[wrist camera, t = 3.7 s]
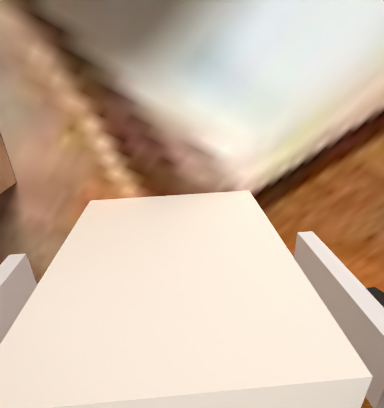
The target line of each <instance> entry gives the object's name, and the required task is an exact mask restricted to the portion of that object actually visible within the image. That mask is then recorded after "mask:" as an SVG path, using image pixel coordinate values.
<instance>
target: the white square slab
mask: <svg viewBox="0 0 384 408" xmlns="http://www.w3.org/2000/svg"><path fill="white" fill-rule="evenodd" d="M372 377H373V376H372V375H371V373H370V372H369V370H368V369H367V367H366V366H365V364H364V363H363V361H362V360H361V358H360V357H359V355H358V354H357V352H356V351H355V349H354V348H353V346H352V345H351V343H350V342H349V340H348V339H347V337H346V336H345V334H344V333H343V331H342V330H341V328H340V327H339V325H338V324H337V322H336V321H335V319H334V318H333V316H332V315H331V313H330V312H329V310H328V309H327V307H326V306H325V304H324V303H323V301H322V300H321V298H320V297H319V295H318V294H317V292H316V291H315V289H314V288H313V286H312V285H311V283H310V282H309V280H308V279H307V277H306V275H305V274H304V272H303V271H302V269H301V268H300V266H299V265H298V263H297V262H296V260H295V259H294V257H293V256H292V254H291V253H290V251H289V250H288V248H287V247H286V245H285V244H284V242H283V241H282V239H281V238H280V236H279V235H278V233H277V232H276V230H275V229H274V227H273V226H272V224H271V223H270V221H269V220H268V218H267V217H266V215H265V214H264V212H263V211H262V209H261V208H260V206H259V205H258V203H257V202H256V200H255V199H254V197H253V196H252V194H251V193H250V191H235V192H219V193H204V194H188V195H172V196H156V197H140V198H124V199H108V200H92V201H90V202H89V204H88V205H87V207H86V208H85V210H84V212H83V213H82V215H81V216H80V218H79V220H78V221H77V223H76V224H75V226H74V228H73V229H72V231H71V232H70V234H69V236H68V237H67V239H66V240H65V242H64V244H63V245H62V247H61V248H60V250H59V251H58V253H57V255H56V256H55V258H54V259H53V261H52V263H51V264H50V266H49V267H48V269H47V271H46V272H45V274H44V275H43V277H42V279H41V280H40V282H39V283H38V285H37V287H36V288H35V290H34V291H33V293H32V295H31V296H30V298H29V299H28V301H27V302H26V304H25V306H24V307H23V309H22V310H21V312H20V314H19V315H18V317H17V318H16V320H15V322H14V323H13V325H12V326H11V328H10V330H9V331H8V333H7V334H6V336H5V338H4V339H3V341H2V342H1V344H0V408H361V406H362V403H363V401H364V398H365V395H366V393H367V390H368V388H369V385H370V382H371V380H372Z"/></svg>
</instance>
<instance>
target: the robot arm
mask: <svg viewBox="0 0 384 408" xmlns="http://www.w3.org/2000/svg"><path fill="white" fill-rule="evenodd" d="M294 259H295V260H296V262H297V263H298V265H299V266H300V268H301V269H302V271H303V272H304V274H305V275H306V277H307V279H308V280H309V282H310V283H311V285H312V286H313V288H314V289H315V291H316V292H317V294H318V295H319V297H320V298H321V300H322V301H323V303H324V304H325V306H326V307H327V309H328V310H329V312H330V313H331V315H332V316H333V318H334V319H335V321H336V322H337V324H338V325H339V327H340V328H341V330H342V331H343V333H344V334H345V336H346V337H347V339H348V340H349V342H350V343H351V345H352V346H353V348H354V349H355V351H356V352H357V354H358V355H359V357H360V358H361V360H362V361H363V363H364V364H365V366H366V367H367V369H368V370H369V372H370V373H371V375H372V376H373V377H372V380H371V382H370V385H369V388H368V390H367V393H366V395H365V396H366V398H367V399H368V401H369V403H370V404H371V406H372V408H384V293H383V292H382V291H380V290H379V289H377V288H375V287H372V288H365V287H364V286H363V285H362V284H361V283H360V282H359V281H358V279H357V278H356V277H355V276H354V275H353V274H352V273H351V272H350V271H349V270H348V269H347V268H346V267H345V266H344V265H343V263H342V262H341V261H340V260H339V259H338V258H337V257H336V256H335V255H334V254H333V253H332V252H331V251H330V250H329V248H328V247H327V246H326V245H325V244H324V243H323V242H322V241H321V240H320V239H319V238H318V237H317V236H316V235H315V234H314V232H313V231H310V232H297V239H296V246H295V253H294ZM36 287H37V283H36V280H35V277H34V275H33V272H32V269H31V266H30V263H29V260H28V258H27V255H26V254H13V255H9V256H8V257H7V258H6V259H5V260H4V261H3V262H2V264H1V265H0V344H1V342H2V341H3V339H4V338H5V336H6V334H7V333H8V331H9V330H10V328H11V326H12V325H13V323H14V322H15V320H16V318H17V317H18V315H19V314H20V312H21V310H22V309H23V307H24V306H25V304H26V302H27V301H28V299H29V298H30V296H31V295H32V293H33V291H34V290H35V288H36Z"/></svg>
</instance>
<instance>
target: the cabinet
mask: <svg viewBox="0 0 384 408" xmlns="http://www.w3.org/2000/svg"><path fill="white" fill-rule="evenodd" d="M15 183H16V179H15V176H14V173H13V170H12V167H11V164H10V161H9V158H8V155H7V152H6V149H5V146H4V143H3V140H2V137H1V134H0V194H1V193H2V192H3V191H5V190H6V189H8V188H9V187H10V186H12V185H13V184H15Z"/></svg>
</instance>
